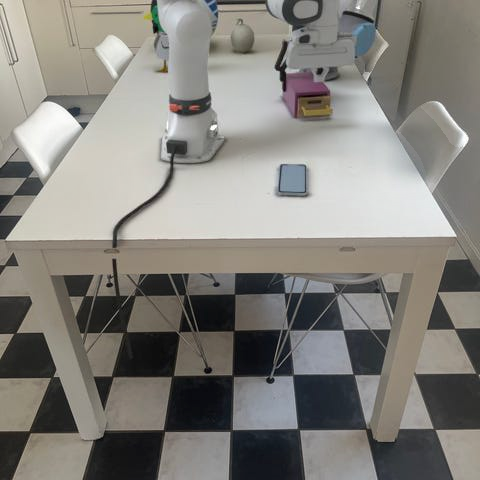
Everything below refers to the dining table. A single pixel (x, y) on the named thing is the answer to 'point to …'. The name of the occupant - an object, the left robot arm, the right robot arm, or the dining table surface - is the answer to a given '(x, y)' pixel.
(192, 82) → the left robot arm
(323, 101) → the drawer
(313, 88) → the purple drawer cabinet
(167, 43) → the toy
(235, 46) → the fruit
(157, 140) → the dining table surface
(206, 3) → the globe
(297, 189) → the smartphone
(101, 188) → the dining table surface
